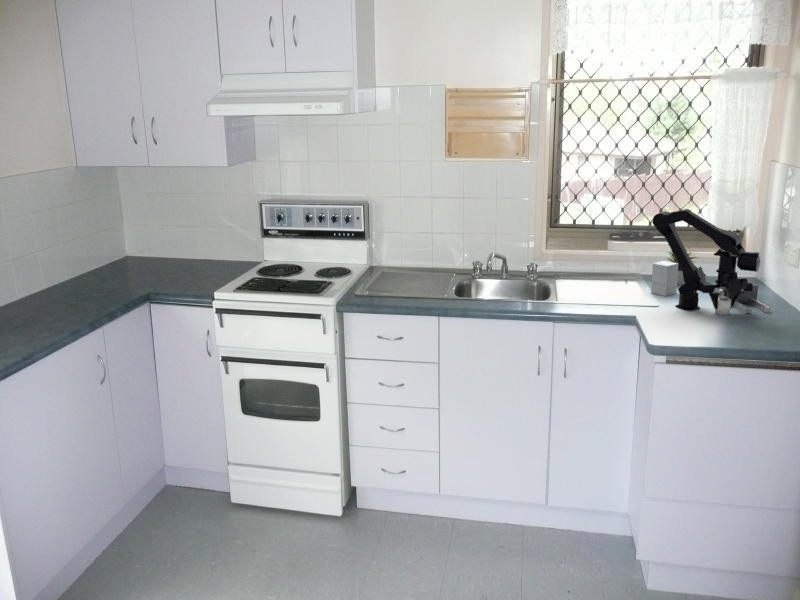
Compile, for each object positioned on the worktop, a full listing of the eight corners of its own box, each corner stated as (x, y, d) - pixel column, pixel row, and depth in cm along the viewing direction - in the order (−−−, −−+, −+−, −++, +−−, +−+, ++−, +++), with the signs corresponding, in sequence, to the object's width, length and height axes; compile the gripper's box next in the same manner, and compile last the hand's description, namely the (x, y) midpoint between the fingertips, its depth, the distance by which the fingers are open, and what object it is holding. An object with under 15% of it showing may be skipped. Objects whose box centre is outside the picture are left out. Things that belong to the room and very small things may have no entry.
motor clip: (737, 314, 263) (739, 292, 261) (713, 300, 281) (715, 280, 279) (774, 312, 264) (777, 291, 261) (748, 298, 282) (750, 278, 279)
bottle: (712, 312, 266) (713, 296, 265) (721, 310, 268) (723, 294, 267) (723, 315, 262) (724, 300, 260) (732, 313, 264) (734, 298, 262)
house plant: (677, 289, 297) (680, 251, 292) (652, 282, 308) (654, 245, 304) (701, 285, 303) (705, 247, 298) (675, 278, 315) (678, 241, 310)
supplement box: (676, 293, 292) (679, 263, 288) (665, 296, 288) (667, 266, 284) (661, 289, 298) (663, 260, 294) (650, 292, 294) (652, 262, 290)
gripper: (712, 274, 252) (708, 316, 257) (764, 272, 253) (759, 314, 257) (698, 267, 263) (694, 307, 267) (747, 265, 264) (743, 305, 268)
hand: (722, 309), depth 265 cm, fingers closed on bottle, 5 cm apart
